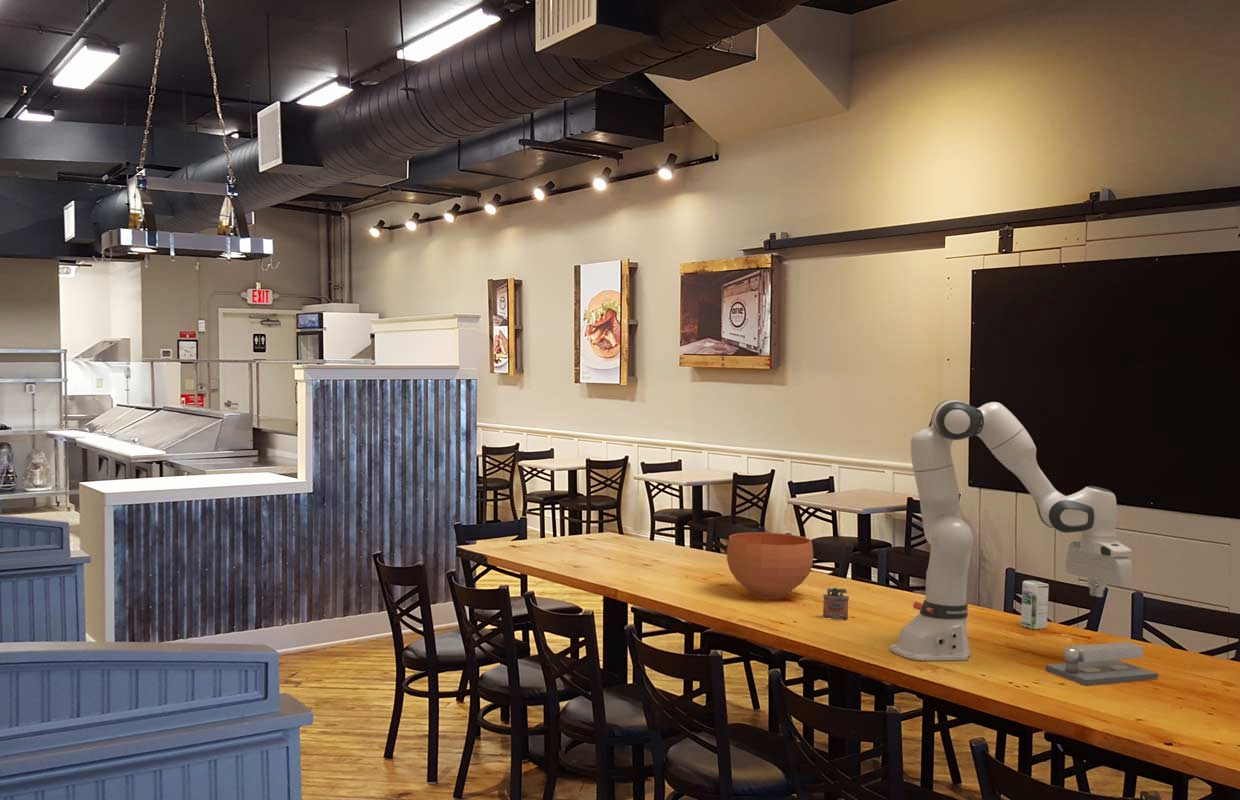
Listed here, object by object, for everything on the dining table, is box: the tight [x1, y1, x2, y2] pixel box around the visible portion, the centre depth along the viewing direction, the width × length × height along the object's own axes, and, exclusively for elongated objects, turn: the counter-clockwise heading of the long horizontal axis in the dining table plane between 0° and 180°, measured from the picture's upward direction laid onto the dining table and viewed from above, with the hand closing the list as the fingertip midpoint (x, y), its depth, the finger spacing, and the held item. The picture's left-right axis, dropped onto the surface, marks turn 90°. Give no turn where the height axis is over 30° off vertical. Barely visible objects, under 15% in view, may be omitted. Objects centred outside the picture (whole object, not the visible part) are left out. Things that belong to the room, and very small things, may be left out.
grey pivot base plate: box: [1045, 660, 1159, 687], centre depth 266 cm, size 24×14×4 cm, turn 110°
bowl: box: [726, 531, 814, 600], centre depth 355 cm, size 30×30×20 cm
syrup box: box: [1020, 580, 1050, 630], centre depth 318 cm, size 6×6×14 cm
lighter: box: [822, 586, 850, 621], centre depth 323 cm, size 8×3×10 cm, turn 76°
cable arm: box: [1064, 641, 1144, 662], centre depth 266 cm, size 23×5×3 cm, turn 110°
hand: (1096, 596), depth 276 cm, fingers closed
